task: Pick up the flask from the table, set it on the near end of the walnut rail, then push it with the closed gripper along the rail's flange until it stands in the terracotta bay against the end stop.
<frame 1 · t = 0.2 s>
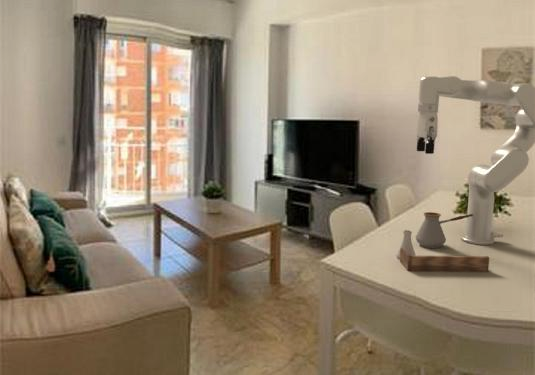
hand: (424, 152, 188), 37 cm above the table, tool pointing down, fingers open, 9 cm apart
coffee pot: (442, 248, 185), on the table
rail: (442, 266, 163), on the table
flask: (405, 257, 172), on the table
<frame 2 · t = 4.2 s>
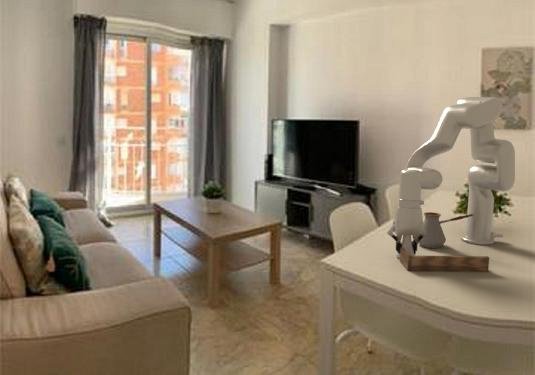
hand: (406, 252, 172), 2 cm above the table, tool pointing down, fingers closed on flask, 4 cm apart
flask: (405, 257, 172), on the table, touching gripper
everything else where it was.
when the fingers open (5 cm above the table, at t = 9.5 s): flask stays where it is, resting on rail.
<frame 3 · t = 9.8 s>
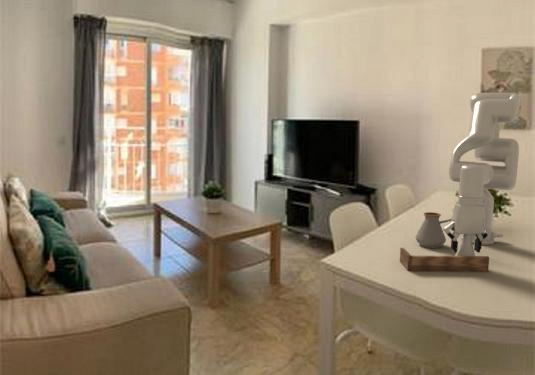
hand: (465, 250, 163), 5 cm above the table, tool pointing down, fingers open, 7 cm apart
flask: (464, 260, 164), point 2 cm above the table, touching rail
everything else where it was.
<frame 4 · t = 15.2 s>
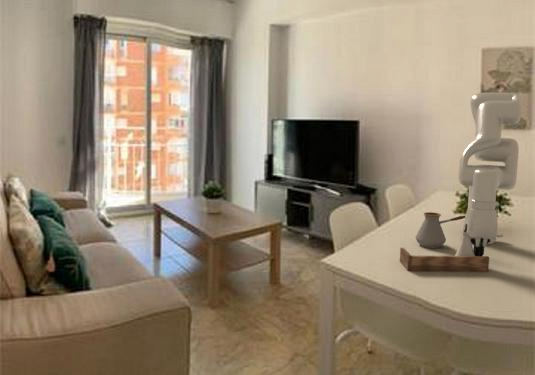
hand: (478, 256, 163), 3 cm above the table, tool pointing down, fingers closed
flask: (465, 260, 164), point 2 cm above the table, touching gripper, rail
everything else where it was.
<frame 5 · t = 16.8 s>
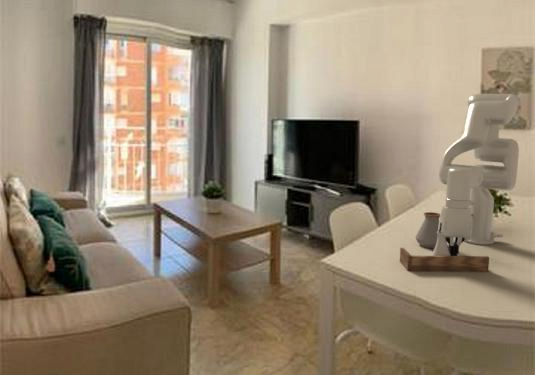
hand: (453, 255, 163), 4 cm above the table, tool pointing down, fingers closed
flask: (441, 260, 163), point 2 cm above the table, touching gripper, rail
everything else where it was.
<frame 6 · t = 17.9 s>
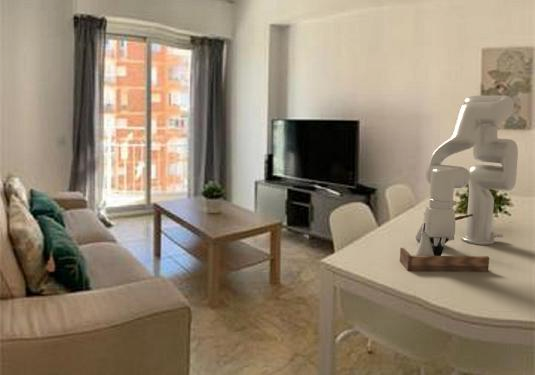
hand: (436, 256, 163), 3 cm above the table, tool pointing down, fingers closed
flask: (424, 260, 163), point 2 cm above the table, touching gripper
everything else where it was.
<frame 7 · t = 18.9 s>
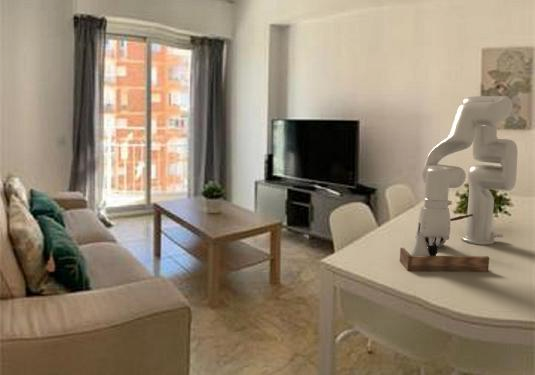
hand: (432, 255, 163), 4 cm above the table, tool pointing down, fingers closed
flask: (420, 260, 163), point 2 cm above the table, touching gripper, rail
everything else where it was.
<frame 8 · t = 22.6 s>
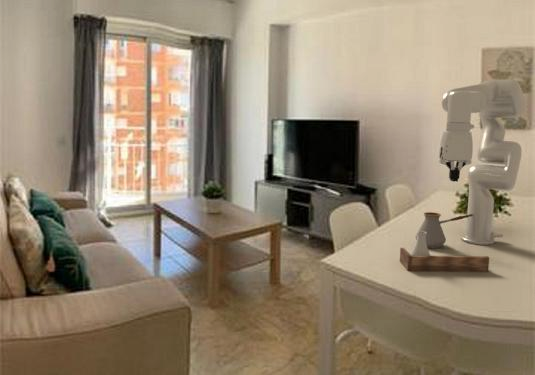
hand: (453, 180, 164), 29 cm above the table, tool pointing down, fingers closed
flask: (420, 260, 163), point 2 cm above the table, touching rail
everything else where it was.
at the end: flask inside the target area (0.5 cm from its centre), point 1.8 cm above the table; flask tilted 0° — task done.
